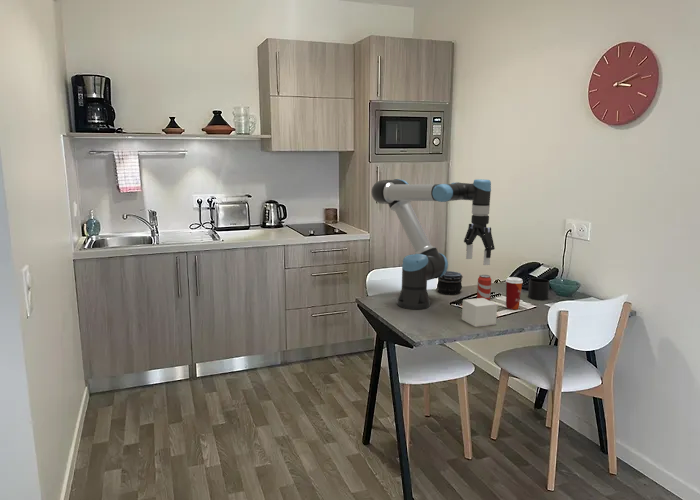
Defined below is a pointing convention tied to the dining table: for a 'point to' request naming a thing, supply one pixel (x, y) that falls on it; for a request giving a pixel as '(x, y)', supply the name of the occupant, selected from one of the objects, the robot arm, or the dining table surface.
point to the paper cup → (513, 292)
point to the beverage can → (484, 287)
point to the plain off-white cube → (479, 312)
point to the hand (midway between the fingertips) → (477, 261)
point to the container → (450, 283)
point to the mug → (538, 289)
